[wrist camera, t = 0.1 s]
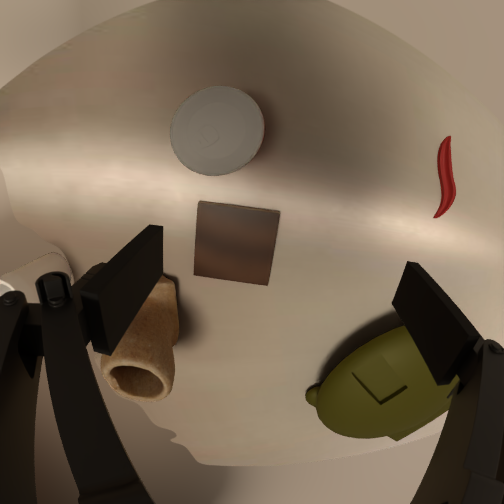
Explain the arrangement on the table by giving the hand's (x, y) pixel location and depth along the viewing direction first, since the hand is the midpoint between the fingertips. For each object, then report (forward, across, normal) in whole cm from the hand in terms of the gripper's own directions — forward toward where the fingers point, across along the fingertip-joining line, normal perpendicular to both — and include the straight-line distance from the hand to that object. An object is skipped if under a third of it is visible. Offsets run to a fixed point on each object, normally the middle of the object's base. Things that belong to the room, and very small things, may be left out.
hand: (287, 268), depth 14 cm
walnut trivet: (+22, -4, -8) cm, 23 cm away
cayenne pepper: (+22, +23, +6) cm, 32 cm away
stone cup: (+22, -15, -20) cm, 33 cm away
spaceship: (+22, +29, -30) cm, 47 cm away
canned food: (+22, -6, +6) cm, 23 cm away
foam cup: (+22, -34, -17) cm, 44 cm away
